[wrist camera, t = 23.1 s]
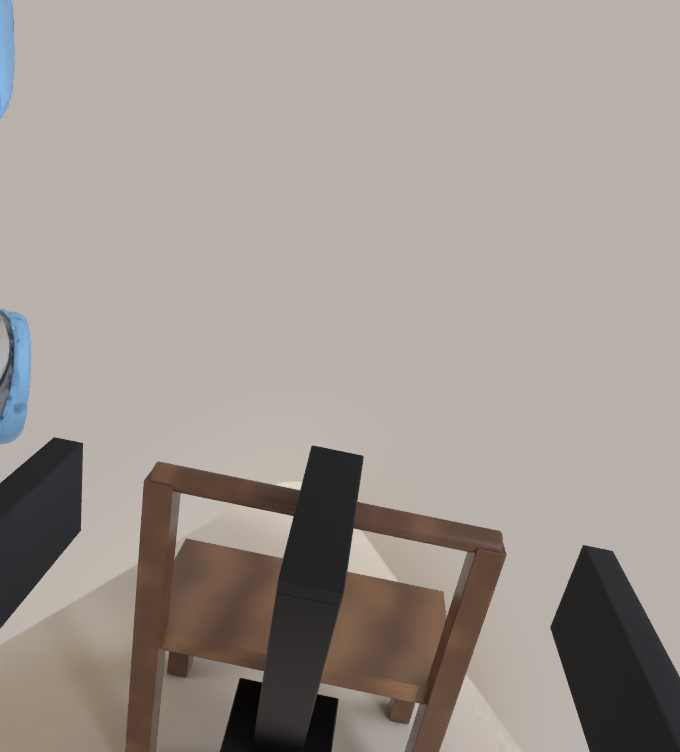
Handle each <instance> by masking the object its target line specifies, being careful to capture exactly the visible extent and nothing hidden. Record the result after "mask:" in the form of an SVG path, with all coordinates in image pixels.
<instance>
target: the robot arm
mask: <svg viewBox="0 0 680 752" xmlns="http://www.w3.org/2000/svg"><path fill="white" fill-rule="evenodd" d="M13 21H14V20H13V5H12V0H0V119H1V118H2V117H3V115H4V113H5V111H6V110H7V108H8V105H9V102H10V99H11V93H12V88H13V76H14V22H13ZM30 345H31V343H30V331H29V328H28V323H27V320H26V318H25V317H24V316H23V315H22V314H20V313H17V312H9V311H7V310H5V309H0V444H6V443H9V442H12V441H14V440H15V439H16V438H17V437H18V436H19V435H20V434H21V432H22V430H23V428H24V424H25V420H26V414H27V401H28V396H29V388H30V370H31V368H30V367H31V347H30ZM82 458H83V443H79V442H75V441H70V440H65V439H60V438H55V437H54V438H53V439H52V440H51V441H49V442H48V443H47V444H46V445H45V446H44V447H42V448H41V449H40V450H39V451H37V452H36V453H35V454H34V455H33V456H32V457H30V459H28V460H27V461H26V462H25V463H24V464H22V465H21V466H20V467H19V468H18V469H16V470H15V471H14V472H13V473H12V474H11V475H9V476H8V477H7V478H6V479H5V480H3V481H2V482H1V483H0V628H1V627H2V626H3V625H4V623H5V622H6V621H7V620H8V618H9V617H10V616H11V615H12V613H13V612H14V611H15V610H16V609H17V607H18V606H19V605H20V604H21V603H22V601H23V600H24V599H25V598H26V597H27V595H28V594H29V593H30V592H31V590H32V589H33V588H34V587H35V586H36V584H37V583H38V582H39V581H40V579H41V578H42V577H43V576H44V575H45V573H46V572H47V571H48V570H49V569H50V567H51V566H52V565H53V564H54V562H55V561H56V560H57V559H58V557H59V556H60V555H61V554H62V553H63V551H64V550H65V549H66V548H67V547H68V545H69V544H70V543H71V542H72V540H73V539H74V538H75V537H76V536H77V534H78V533H79V532H80V531H81V501H82V499H81V497H82V461H83V459H82ZM550 628H551V631H552V634H553V637H554V640H555V644H556V647H557V650H558V653H559V656H560V659H561V662H562V666H563V668H564V672H565V675H566V678H567V681H568V685H569V687H570V691H571V694H572V697H573V700H574V703H575V706H576V710H577V713H578V716H579V719H580V722H581V725H582V728H583V732H584V735H585V738H586V741H587V744H588V747H589V750H590V752H680V677H679V675H678V673H677V671H676V669H675V667H674V665H673V664H672V662H671V660H670V658H669V656H668V654H667V652H666V650H665V649H664V647H663V645H662V643H661V641H660V639H659V637H658V635H657V634H656V632H655V630H654V628H653V626H652V624H651V622H650V620H649V619H648V617H647V615H646V613H645V611H644V609H643V607H642V605H641V603H640V602H639V600H638V598H637V596H636V594H635V592H634V590H633V588H632V586H631V585H630V583H629V581H628V579H627V577H626V575H625V573H624V571H623V569H622V568H621V566H620V564H619V562H618V560H617V558H616V556H615V555H614V553H613V551H609V550H605V549H600V548H595V547H590V546H585V545H583V547H582V549H581V552H580V555H579V557H578V559H577V562H576V564H575V567H574V569H573V572H572V574H571V577H570V579H569V582H568V584H567V587H566V589H565V592H564V594H563V597H562V599H561V602H560V605H559V607H558V609H557V612H556V615H555V617H554V619H553V622H552V625H551V627H550Z"/></svg>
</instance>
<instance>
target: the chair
mask: <svg viewBox="0 0 680 752" xmlns="http://www.w3.org/2000/svg"><path fill="white" fill-rule="evenodd" d="M143 488H144V489H143V502H142V516H141V531H140V546H139V560H138V574H137V589H136V603H135V618H134V632H133V647H132V661H131V676H130V690H129V705H128V719H127V734H126V748H125V752H156V744H157V733H158V723H159V712H160V702H161V691H162V681H163V671H164V660H165V650H167V651H169V658H168V668H167V673H168V674H173V675H178V676H182V677H187V675H188V672H189V669H190V667H191V664H192V662H193V656H195V657H200V658H205V659H209V660H214V661H219V662H224V663H229V664H233V665H238V666H243V667H248V668H252V669H257V670H262V671H264V668H265V662H266V655H267V648H268V642H269V635H270V629H271V622H272V616H273V609H274V602H275V596H276V589H277V583H278V577H279V573H280V569H281V565H282V561H283V558H278V557H273V556H268V555H263V554H258V553H254V552H249V551H244V550H239V549H234V548H229V547H224V546H220V545H215V544H210V543H205V542H200V541H195V540H191V539H186V540H185V541H184V543H183V545H182V547H181V549H180V551H179V553H178V554H177V556H176V558H175V560H174V556H175V545H176V534H177V524H178V514H179V513H178V512H179V503H180V493H184V494H189V495H193V496H198V497H203V498H209V499H213V500H218V501H223V502H228V503H233V504H237V505H242V506H247V507H252V508H257V509H262V510H267V511H272V512H276V513H281V514H286V515H291V516H294V514H295V510H296V506H297V502H298V498H299V494H300V490H296V489H291V488H286V487H281V486H276V485H271V484H267V483H262V482H257V481H252V480H247V479H242V478H237V477H232V476H227V475H223V474H218V473H212V472H208V471H203V470H198V469H193V468H188V467H183V466H178V465H173V464H169V463H163V462H157V463H156V464H155V466H154V468H153V470H152V471H151V472H150V473H149V475H148V476H147V477H146V479H145V480H144V487H143ZM354 528H355V529H359V530H365V531H370V532H374V533H379V534H384V535H389V536H394V537H399V538H404V539H408V540H413V541H418V542H423V543H428V544H433V545H438V546H443V547H448V548H452V549H457V550H462V551H467V555H466V558H465V561H464V564H463V567H462V571H461V574H460V577H459V580H458V583H457V587H456V590H455V593H454V596H453V600H452V603H451V606H450V609H449V612H448V615H447V619H446V611H445V602H444V592H442V591H438V590H433V589H428V588H423V587H419V586H414V585H409V584H404V583H399V582H394V581H390V580H385V579H380V578H375V577H370V576H365V575H360V574H356V573H351V572H347V576H346V583H345V590H344V595H343V599H342V603H341V606H340V610H339V614H338V618H337V621H336V625H335V629H334V633H333V637H332V640H331V644H330V648H329V652H328V656H327V659H326V663H325V667H324V671H323V674H322V678H321V682H320V683H324V684H329V685H334V686H338V687H343V688H348V689H353V690H357V691H362V692H367V693H372V694H377V695H381V696H386V697H391V699H390V702H389V720H392V721H397V722H401V723H406V724H409V721H410V718H411V715H412V712H413V709H414V705H415V703H420V705H419V708H418V711H417V714H416V717H415V721H414V724H413V727H412V730H411V733H410V737H409V740H408V743H407V746H406V749H405V752H439V750H440V747H441V744H442V741H443V739H444V736H445V733H446V730H447V727H448V724H449V721H450V718H451V715H452V712H453V709H454V706H455V704H456V701H457V698H458V695H459V692H460V689H461V686H462V683H463V680H464V677H465V674H466V672H467V668H468V665H469V663H470V660H471V657H472V654H473V651H474V648H475V645H476V642H477V639H478V636H479V634H480V631H481V628H482V625H483V622H484V619H485V616H486V613H487V610H488V607H489V604H490V602H491V599H492V596H493V593H494V590H495V587H496V584H497V581H498V578H499V575H500V572H501V569H502V567H503V563H504V561H505V558H506V551H505V547H504V544H503V537H502V533H501V532H500V531H497V530H492V529H487V528H482V527H477V526H472V525H468V524H463V523H458V522H453V521H448V520H443V519H438V518H433V517H428V516H424V515H419V514H413V513H409V512H404V511H399V510H394V509H389V508H384V507H379V506H375V505H369V504H365V503H360V502H357V507H356V514H355V521H354Z"/></svg>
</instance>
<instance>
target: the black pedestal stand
mask: <svg viewBox="0 0 680 752" xmlns="http://www.w3.org/2000/svg"><path fill="white" fill-rule="evenodd" d="M363 458H364V457H363V456H362V455H356V454H352V453H346V452H342V451H337V450H332V449H327V448H323V447H318V446H312V447H311V451H310V454H309V458H308V462H307V466H306V470H305V474H304V478H303V482H302V486H301V490H300V494H299V498H298V502H297V506H296V510H295V514H294V518H293V522H292V526H291V530H290V533H289V537H288V541H287V545H286V549H285V553H284V557H283V561H282V565H281V569H280V573H279V577H278V583H277V589H276V596H275V602H274V609H273V616H272V622H271V629H270V635H269V642H268V648H267V655H266V662H265V668H264V675H263V681H262V682H257V681H252V680H248V679H243V678H240V679H239V683H238V687H237V690H236V694H235V698H234V702H233V705H232V709H231V713H230V716H229V720H228V724H227V727H226V731H225V735H224V739H223V742H222V746H221V750H220V752H332V746H333V738H334V730H335V723H336V715H337V707H338V699H337V698H333V697H328V696H323V695H319V694H317V693H318V690H319V686H320V682H321V678H322V674H323V671H324V667H325V663H326V659H327V656H328V652H329V648H330V644H331V640H332V637H333V633H334V629H335V625H336V621H337V618H338V614H339V610H340V606H341V603H342V599H343V595H344V590H345V583H346V576H347V569H348V562H349V555H350V548H351V541H352V535H353V528H354V521H355V514H356V507H357V500H358V492H359V486H360V479H361V471H362V464H363Z"/></svg>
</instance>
